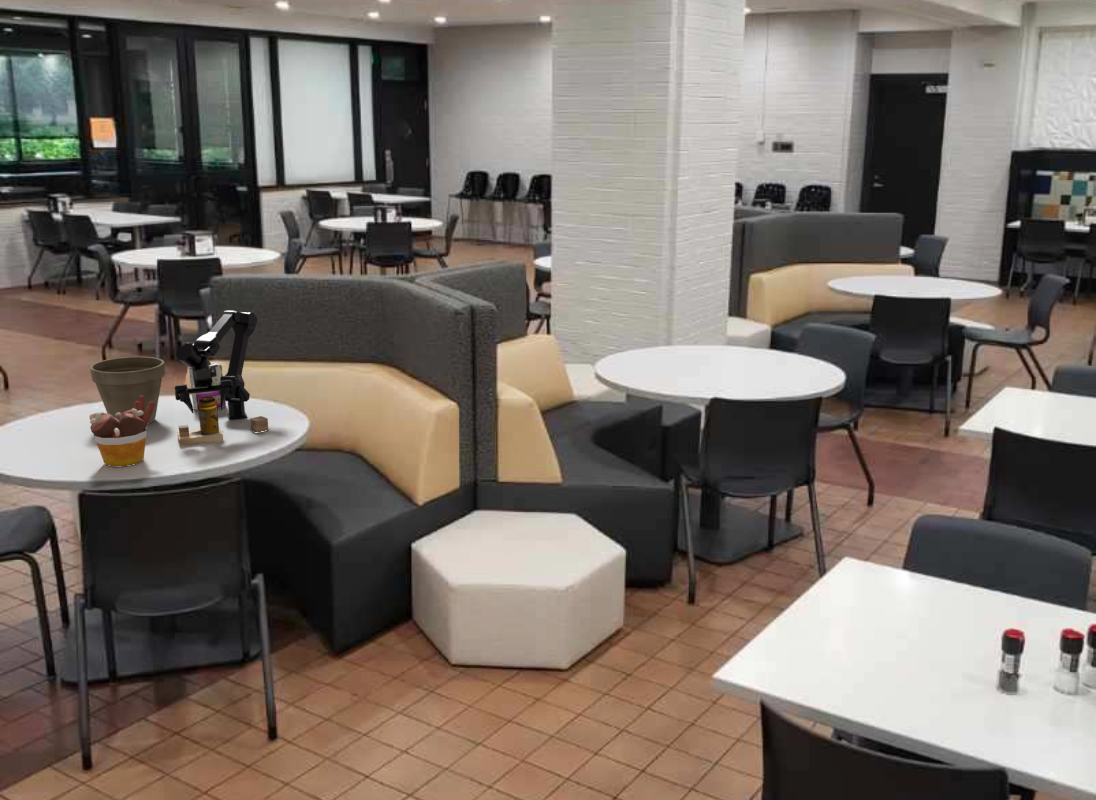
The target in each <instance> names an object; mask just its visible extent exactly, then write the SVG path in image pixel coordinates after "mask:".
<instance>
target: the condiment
mask: <svg viewBox="0 0 1096 800" xmlns="http://www.w3.org/2000/svg"><path fill="white" fill-rule="evenodd" d="M197 412H198V417H199V418H198V419H199V430H200V431H197V432H191V433H192V434H194V435H196V436H198V437H205V436H209V435H214V434H219V433H222V434H223V433H224V431H222V430H221V431H220V430H219V428H220V426H219V425H220V423H219V415H218V413H219V412H218V408H217V406H216V403H215V398H214V397H202V398H200V399H199V407H198V411H197Z"/></svg>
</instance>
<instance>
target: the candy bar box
mask: <svg viewBox="0 0 1096 800" xmlns="http://www.w3.org/2000/svg"><path fill="white" fill-rule="evenodd" d="M210 363H211V365H209V369H210V367H216V374H217V376H216V377H212V381H213V383H212V386H214V385H219V384H220V378H221V376H224V375H223V368H222V364H221V363H219V362H213V363H212V362H210ZM188 374H189V383H190V388H192V387H195V386H194V379H193V373H192V367H188ZM202 397H214V398H215V403H216V406H217V409H218V407H219V408H220V393H219V391H214V392H204V393H192V394H191V401H192V406H193V410H194V409H195V411H196V410H197V411H196V412H199V411H198V407H199V399H200V398H202ZM226 402H227V401H224V404H223V406H224V407H226V405H227V403H226Z"/></svg>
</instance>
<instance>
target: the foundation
mask: <svg viewBox="0 0 1096 800" xmlns="http://www.w3.org/2000/svg"><path fill="white" fill-rule="evenodd" d="M219 430H220V431H222V430H221V427H219ZM197 431H200V429H195V430H190V429H189V424H184V425H183V424H181V425H178V432H177V441H178V444H179V447H187V446H188V447H189V446H195V445H203V444H205V445H206V444H213V443H220V442H221V441H222V442H224V435H223V433H219V434H214V435H209V436H205V437H198V436H196V435H194V434H192V433H191V432H197ZM222 442H221V443H222Z"/></svg>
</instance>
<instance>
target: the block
mask: <svg viewBox="0 0 1096 800" xmlns="http://www.w3.org/2000/svg"><path fill="white" fill-rule="evenodd" d="M268 419H269V418H268V417H265V416H262V415H260V416H256V417H250V418H249V426H250V428H249V429H250V431H251V430H252V431H254V432H253V433H255V432H261V431H265V430H269V421H268ZM252 431H251V432H252ZM265 432H266V431H265ZM261 433H262V432H261Z"/></svg>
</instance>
